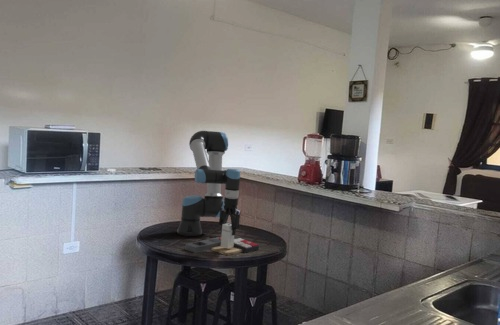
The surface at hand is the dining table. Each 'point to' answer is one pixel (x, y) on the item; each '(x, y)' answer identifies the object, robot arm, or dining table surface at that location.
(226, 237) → the block
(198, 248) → the grey handheld radio
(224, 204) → the robot arm
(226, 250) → the wooden board
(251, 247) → the calculator
